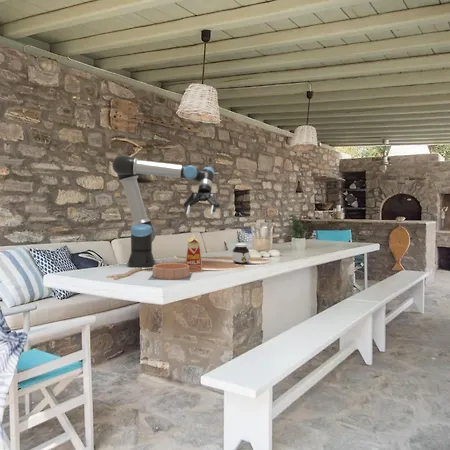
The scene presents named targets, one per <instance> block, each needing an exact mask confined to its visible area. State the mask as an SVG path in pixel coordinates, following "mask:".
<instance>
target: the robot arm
mask: <svg viewBox="0 0 450 450" xmlns="http://www.w3.org/2000/svg"><path fill="white" fill-rule="evenodd" d="M111 166H112V169H113V171H114V172H115V173H116V174H117V178H118V181H119V182H120V183H122V186H123V191H124V192H125V196H126V200H127V203H128V207H129V210H130V215H131V218H132V222H133V223H132V224H131V226H130V227H131V228H130V255H129V257H128V260H127V266H128V267H129V268H143V269H144V268H153V267H152V266H154V265H156V261H155V258H154V255H153V244H152V242H154V240H155V238H156V230H155V228H154V226H153V223H152V220H151V219H150V218H148V215H147V212H146V208H145V204H144V202H143V200H144V199H143V197H142V194H141V191H140V187H139V182H138V178H139V174H141V175H149V176H151V175H152V176H158V177H160V176H161V177H169V178H176V179H177V178H178V179H185V180H190V181H195V182H199V185H198V190H197V193H194V192H192V193H191V195H190V196H189V197H188V198H187V199H186V200H185V202H183V206H184V208H185V210H186V211H185V212H186V217H187V218H189V217H190V213H191V207H192V206H194V205H195V204H197V203H198V202H206V201H207V202H208V203H209V204H210V205H211V210H210V217H211V218H213V217H214V213H215V212H216V210H217V209H216V208H220V203H219V201H218V198H217V197H216V193H215V192H213V193H212V189H213V184H214V180H215V179H214V178H215V170H214V168H213V167H211V166H205V167H204V168H197V167H195V166H194V165H185V164H178V163H177V164H176V163H168V162H160V161H151V160H142V159H138V158H137V157H134V156H128V155H125V154H120V155H117V156H116V157H114V159H113V160H112V165H111ZM212 199H213V200H212Z"/></svg>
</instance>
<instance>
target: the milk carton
mask: <svg viewBox="0 0 450 450" xmlns="http://www.w3.org/2000/svg"><path fill="white" fill-rule="evenodd" d="M186 252H187V253H186V260H185V264H187V265H189V266H190V273H192V274H193V273H203V263H202V253H201V246H200V241H199V239H198V238H197V237H195V234H194V233H193V234H192V237H190V238H188V239H187V251H186Z"/></svg>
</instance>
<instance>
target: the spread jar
mask: <svg viewBox="0 0 450 450" xmlns="http://www.w3.org/2000/svg"><path fill="white" fill-rule="evenodd" d="M247 245H248V244H247V243H239V242H238V243H235V245H234V248H233V249H232V261H233V263H234V264H237V265H245V264H247V263H248V262H249V261H250V259H251V253H250V251H249V248H248V247H247Z"/></svg>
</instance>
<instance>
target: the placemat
mask: <svg viewBox="0 0 450 450" xmlns="http://www.w3.org/2000/svg"><path fill="white" fill-rule="evenodd" d="M192 275H193V273H192V272H190V274H189V277H187V278H184V279H175V280H174V281H191V278H192ZM147 281H167V280H166V279H157V278H154V277H153V273H152V275H151V276H150V277H149V278H148V279H147Z"/></svg>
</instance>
